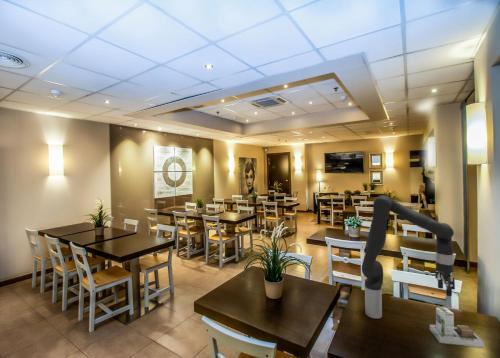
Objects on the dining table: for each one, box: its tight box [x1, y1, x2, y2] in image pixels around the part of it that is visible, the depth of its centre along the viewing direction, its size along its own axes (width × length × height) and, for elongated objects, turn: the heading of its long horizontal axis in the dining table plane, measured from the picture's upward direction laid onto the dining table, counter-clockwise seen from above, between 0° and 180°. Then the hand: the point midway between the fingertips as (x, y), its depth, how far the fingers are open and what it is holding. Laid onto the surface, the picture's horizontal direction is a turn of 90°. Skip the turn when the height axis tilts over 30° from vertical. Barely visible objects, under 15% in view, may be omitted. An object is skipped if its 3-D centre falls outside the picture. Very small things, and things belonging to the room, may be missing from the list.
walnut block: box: [456, 324, 475, 339], centre depth 132 cm, size 5×5×6 cm
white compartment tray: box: [429, 324, 485, 349], centre depth 133 cm, size 11×19×3 cm, turn 77°
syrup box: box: [435, 307, 455, 337], centre depth 134 cm, size 6×6×14 cm
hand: (444, 291), depth 134 cm, fingers open, 8 cm apart
